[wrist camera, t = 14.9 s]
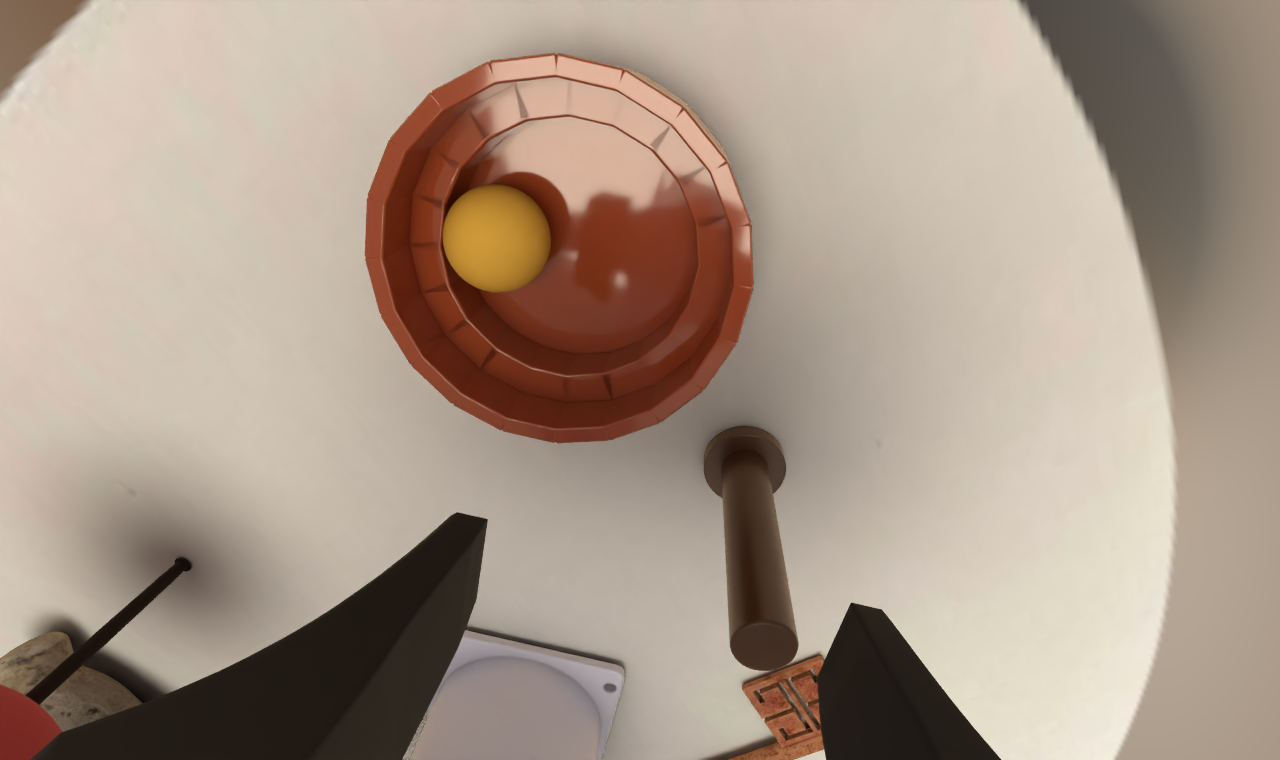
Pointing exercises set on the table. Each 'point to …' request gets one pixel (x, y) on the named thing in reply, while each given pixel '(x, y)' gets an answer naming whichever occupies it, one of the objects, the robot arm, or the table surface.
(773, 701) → the key
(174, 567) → the lollipop
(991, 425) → the table surface
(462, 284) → the bowl
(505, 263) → the ball
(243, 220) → the table surface
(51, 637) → the stone
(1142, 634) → the table surface
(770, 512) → the stick
